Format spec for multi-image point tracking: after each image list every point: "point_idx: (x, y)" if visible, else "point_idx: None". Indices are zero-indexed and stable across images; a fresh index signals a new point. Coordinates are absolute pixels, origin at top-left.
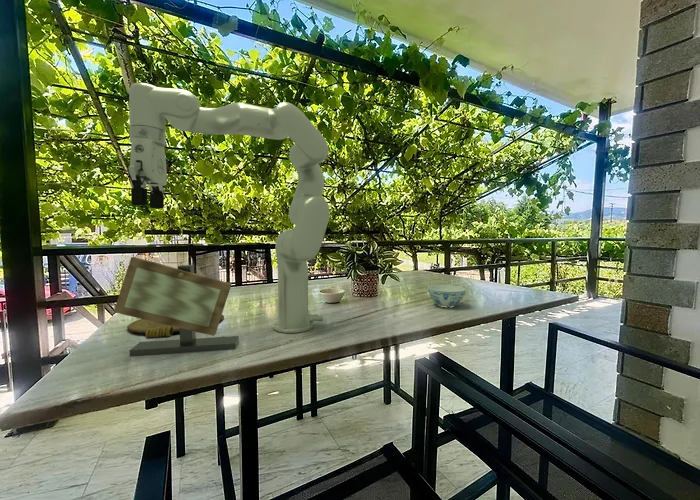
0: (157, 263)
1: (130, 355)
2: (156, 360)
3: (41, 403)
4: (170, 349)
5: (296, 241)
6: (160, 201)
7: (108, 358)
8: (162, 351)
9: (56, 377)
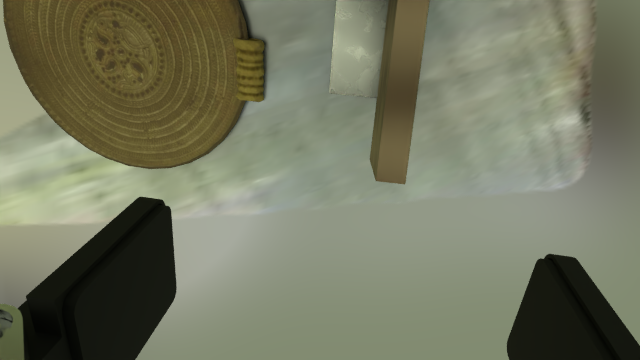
0: (395, 78)
1: None
2: (436, 24)
3: (569, 160)
4: None
5: None
6: (137, 255)
7: None
8: None
9: (457, 185)
